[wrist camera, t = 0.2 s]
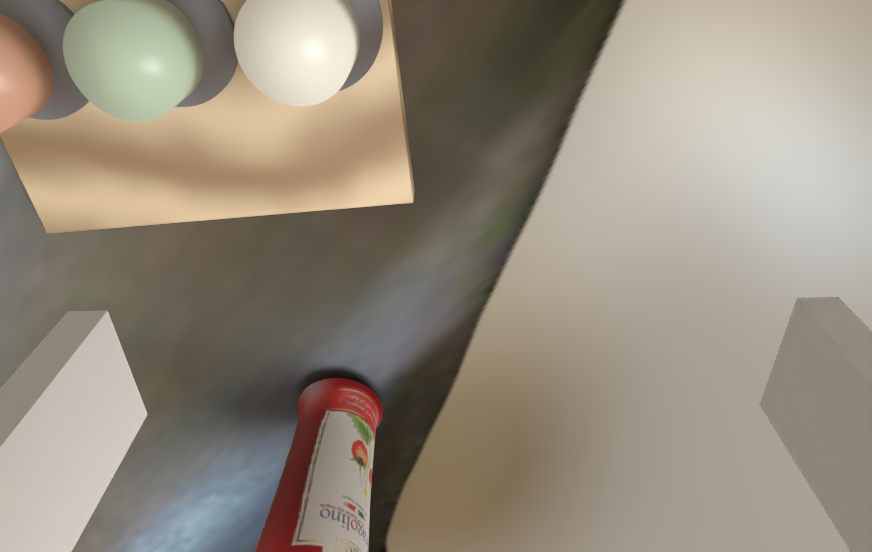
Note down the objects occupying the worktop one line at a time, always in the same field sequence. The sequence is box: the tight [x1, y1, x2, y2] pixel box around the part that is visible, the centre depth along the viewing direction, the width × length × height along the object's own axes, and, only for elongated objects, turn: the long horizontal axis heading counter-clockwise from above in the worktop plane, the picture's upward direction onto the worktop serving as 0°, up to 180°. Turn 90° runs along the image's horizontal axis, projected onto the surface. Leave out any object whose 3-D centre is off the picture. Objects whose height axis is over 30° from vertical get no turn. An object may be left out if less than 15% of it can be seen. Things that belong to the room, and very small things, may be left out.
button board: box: [0, 0, 414, 233], centre depth 34 cm, size 22×24×3 cm
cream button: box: [234, 0, 360, 107], centre depth 29 cm, size 5×5×3 cm
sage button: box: [63, 0, 204, 122], centre depth 30 cm, size 5×5×3 cm
